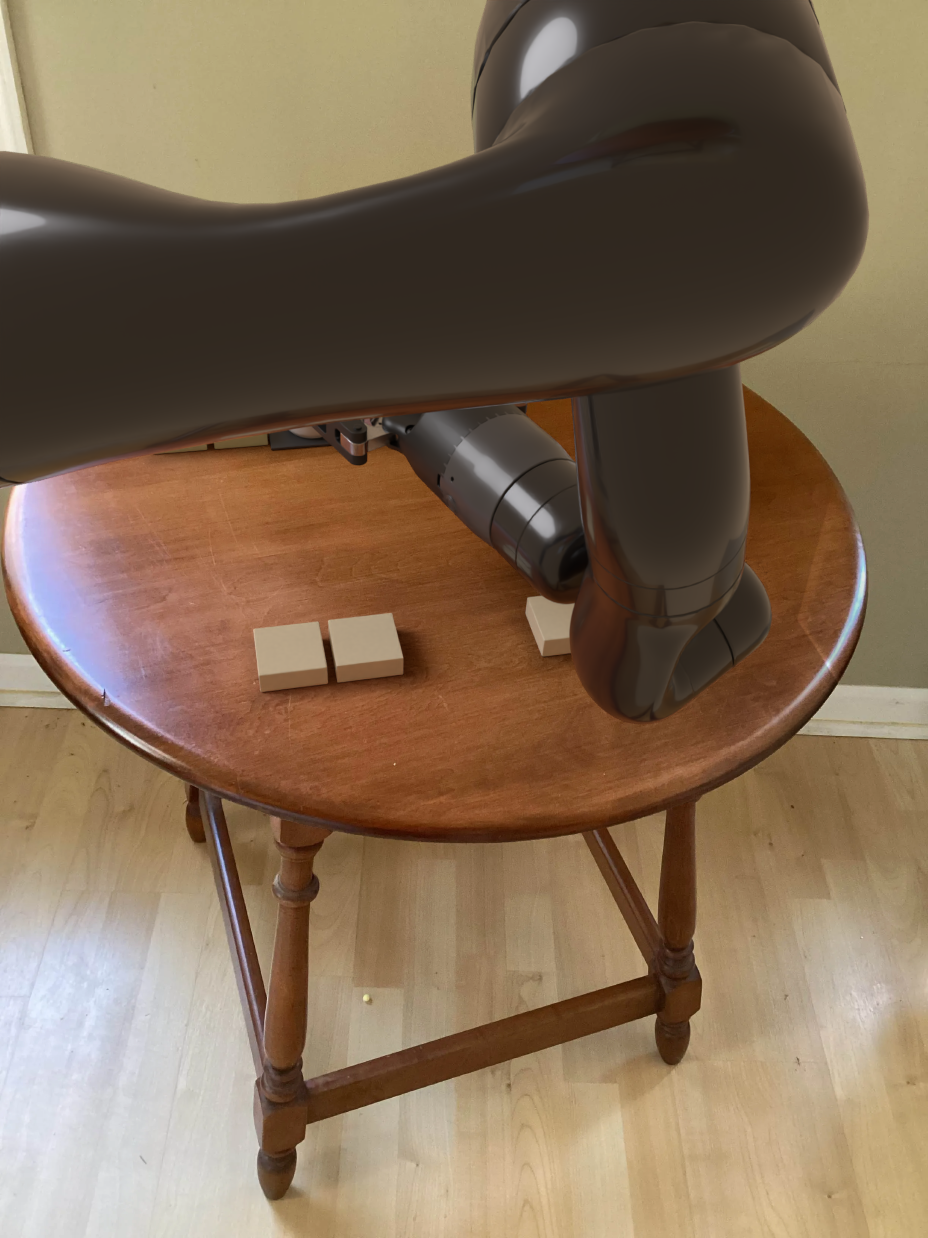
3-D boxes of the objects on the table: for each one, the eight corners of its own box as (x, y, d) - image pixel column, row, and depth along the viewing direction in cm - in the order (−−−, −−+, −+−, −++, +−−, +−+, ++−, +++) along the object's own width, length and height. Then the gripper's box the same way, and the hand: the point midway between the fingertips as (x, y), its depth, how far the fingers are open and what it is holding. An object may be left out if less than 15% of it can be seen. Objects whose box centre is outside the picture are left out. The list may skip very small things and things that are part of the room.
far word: (152, 459, 85) (149, 443, 84) (152, 419, 90) (149, 403, 89) (410, 438, 90) (410, 422, 88) (398, 401, 94) (398, 385, 93)
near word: (260, 692, 68) (258, 675, 67) (255, 645, 71) (253, 628, 70) (602, 649, 72) (606, 632, 71) (583, 606, 75) (586, 590, 74)
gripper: (595, 389, 65) (456, 281, 75) (397, 450, 59) (273, 324, 69) (578, 486, 70) (450, 374, 80) (395, 551, 64) (280, 421, 74)
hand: (369, 351), depth 74 cm, fingers open, 8 cm apart
